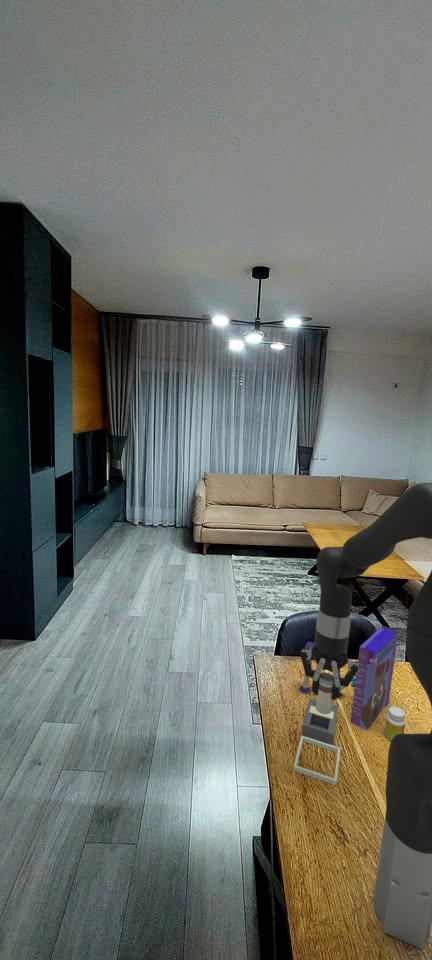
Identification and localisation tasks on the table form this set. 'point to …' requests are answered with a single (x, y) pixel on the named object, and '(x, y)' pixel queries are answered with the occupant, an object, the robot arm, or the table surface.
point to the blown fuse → (325, 693)
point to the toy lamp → (305, 688)
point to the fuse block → (319, 723)
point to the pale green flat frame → (312, 773)
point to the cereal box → (374, 676)
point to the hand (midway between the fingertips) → (324, 695)
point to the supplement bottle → (394, 723)
